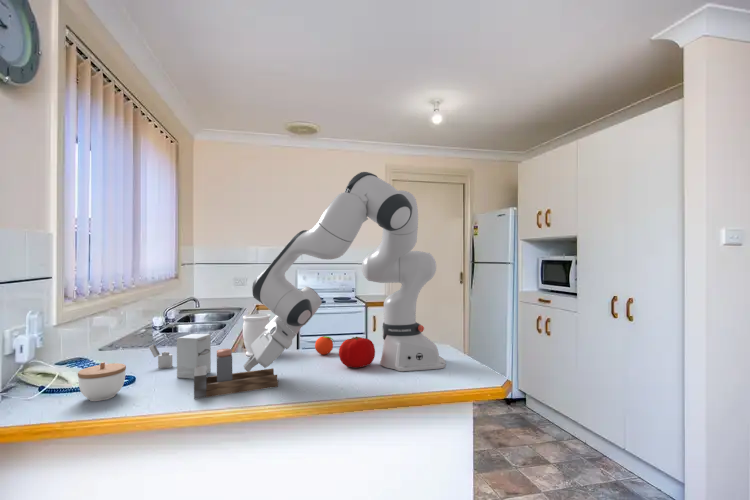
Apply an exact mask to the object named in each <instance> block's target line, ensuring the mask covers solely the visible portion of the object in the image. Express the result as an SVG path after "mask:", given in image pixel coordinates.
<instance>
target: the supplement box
mask: <svg viewBox="0 0 750 500" xmlns="http://www.w3.org/2000/svg"><path fill="white" fill-rule="evenodd" d="M211 340H212V339H211V334H209V333H190V334H186V335H184V336H180V337H177V338H176V378H178V379H179V378H180V379H193V380H194V372H195V367H197V366H206V371H207V374H209V373H211V363H212V359H211V354H212V353H211V350H212V349H211V347H212V346H211Z"/></svg>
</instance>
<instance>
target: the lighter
mask: <svg viewBox="0 0 750 500" xmlns="http://www.w3.org/2000/svg"><path fill="white" fill-rule="evenodd" d="M148 348H149V350H150V352H151V354H152V356H153V358H156V357H157V368H158V369H169V368H170V369H171V368H172V367H173V353H170V352H169V351H162V352H161V353H160V351H159V349H158V348H157V346H156V344H152V345H149V346H148Z"/></svg>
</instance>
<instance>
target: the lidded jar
mask: <svg viewBox="0 0 750 500" xmlns="http://www.w3.org/2000/svg"><path fill="white" fill-rule="evenodd" d="M126 366H127V365H126V364H124V363H115V362H114V363H106V362H104V361H103V362H102V361H101V362H100V363H99V364H97V365H92V366H89V367H85V368H83V369H80V370H79V371H78V373H77V377H78V387H79V391H80V393H81V394H82V396H83V397H85V399H88V401H89V400H90V402H100V401H106V400H110V399H113V398H114V397H116V396H117V394H118V393H119V392H120V390H122V388H123V386H124V384H125V380H126V369H127V367H126Z"/></svg>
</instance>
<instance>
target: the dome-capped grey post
mask: <svg viewBox="0 0 750 500" xmlns="http://www.w3.org/2000/svg"><path fill="white" fill-rule="evenodd" d="M232 350H233V349H232V348H221V349H217V350H216V375H217V382H225V381H232V373H233V354H232V352H233V351H232Z"/></svg>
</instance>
